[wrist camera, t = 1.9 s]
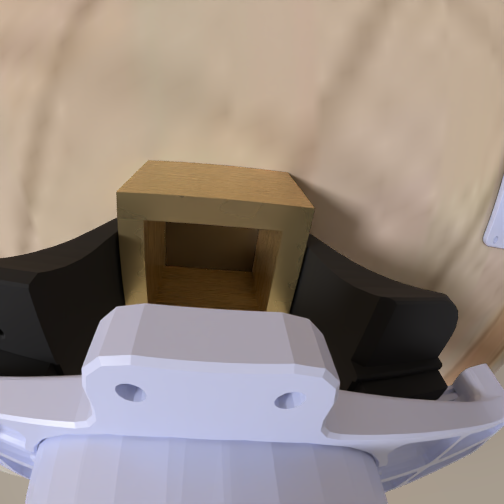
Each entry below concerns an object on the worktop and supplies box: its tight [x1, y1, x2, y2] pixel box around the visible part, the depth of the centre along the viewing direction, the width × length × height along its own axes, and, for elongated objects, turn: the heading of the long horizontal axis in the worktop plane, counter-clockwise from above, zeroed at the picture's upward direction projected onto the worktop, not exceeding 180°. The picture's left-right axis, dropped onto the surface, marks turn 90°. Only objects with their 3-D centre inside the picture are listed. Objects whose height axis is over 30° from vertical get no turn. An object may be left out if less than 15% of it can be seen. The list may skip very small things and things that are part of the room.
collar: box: [116, 160, 315, 314], centre depth 11 cm, size 6×6×4 cm
